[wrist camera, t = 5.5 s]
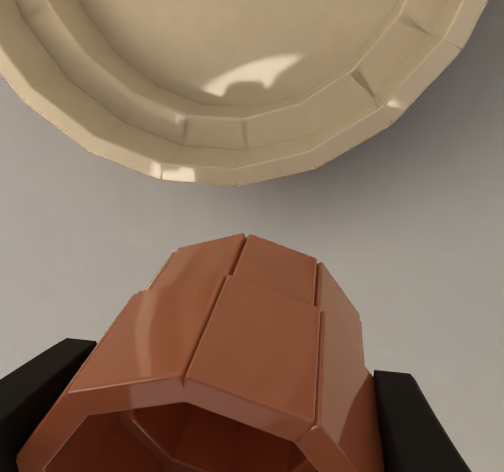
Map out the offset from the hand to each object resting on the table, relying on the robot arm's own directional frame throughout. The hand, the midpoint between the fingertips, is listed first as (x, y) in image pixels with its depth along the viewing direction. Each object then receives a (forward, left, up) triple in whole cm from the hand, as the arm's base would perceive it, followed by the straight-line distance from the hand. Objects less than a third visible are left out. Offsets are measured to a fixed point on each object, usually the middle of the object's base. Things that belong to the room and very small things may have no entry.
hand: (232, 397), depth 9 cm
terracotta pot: (0, 0, -2) cm, 2 cm away
